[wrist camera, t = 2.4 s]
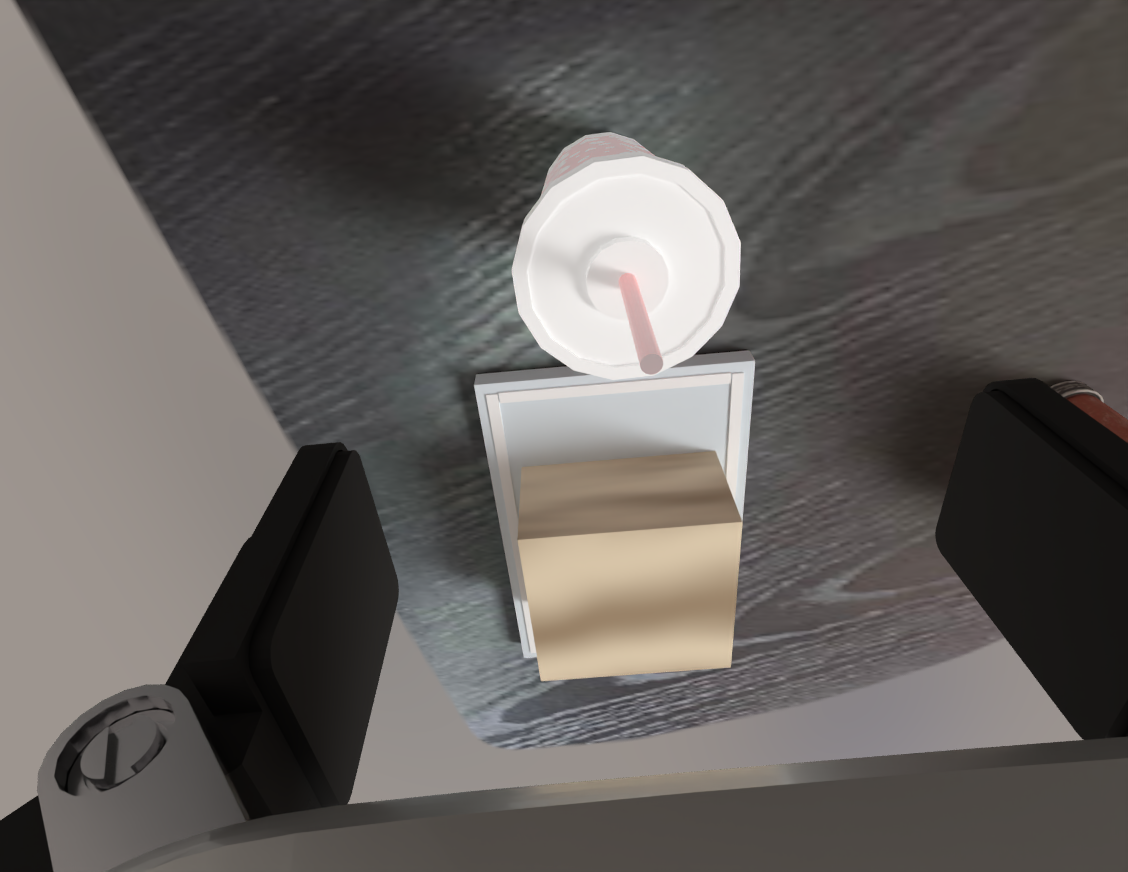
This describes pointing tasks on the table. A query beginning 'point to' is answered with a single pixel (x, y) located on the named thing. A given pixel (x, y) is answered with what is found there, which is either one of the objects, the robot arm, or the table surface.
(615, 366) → the beverage cup
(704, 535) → the maple block
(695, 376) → the white tray
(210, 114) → the table surface
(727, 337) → the table surface
